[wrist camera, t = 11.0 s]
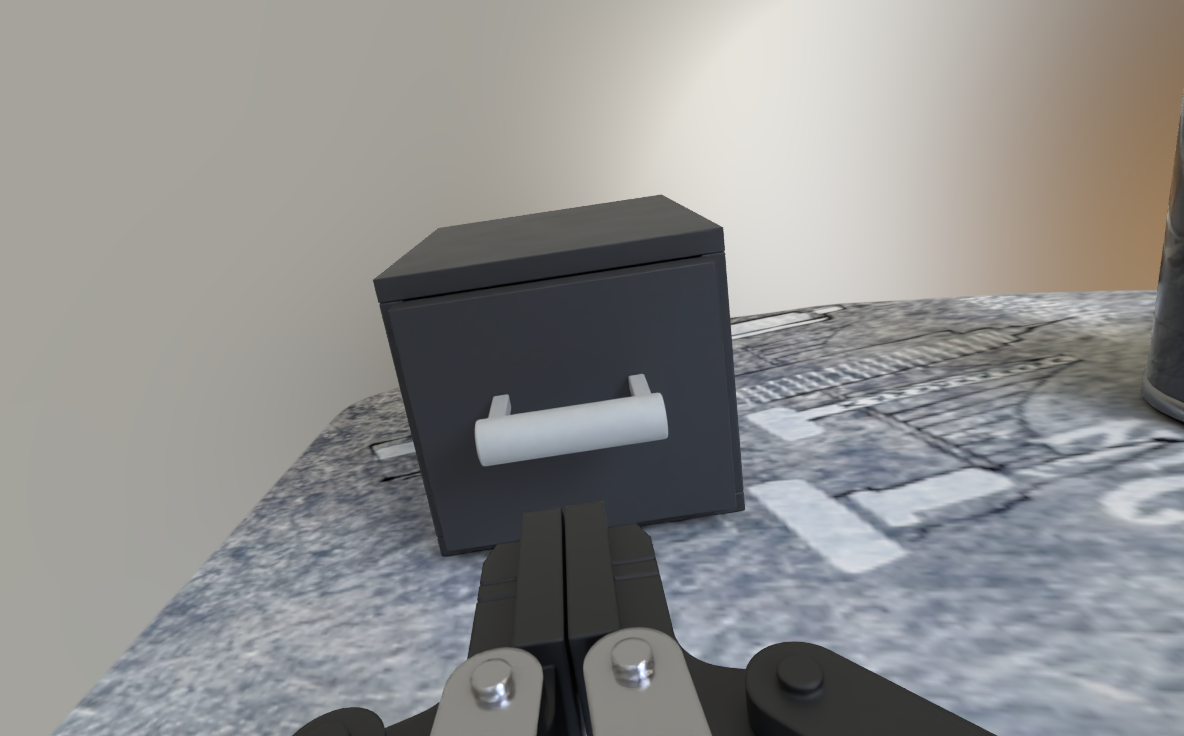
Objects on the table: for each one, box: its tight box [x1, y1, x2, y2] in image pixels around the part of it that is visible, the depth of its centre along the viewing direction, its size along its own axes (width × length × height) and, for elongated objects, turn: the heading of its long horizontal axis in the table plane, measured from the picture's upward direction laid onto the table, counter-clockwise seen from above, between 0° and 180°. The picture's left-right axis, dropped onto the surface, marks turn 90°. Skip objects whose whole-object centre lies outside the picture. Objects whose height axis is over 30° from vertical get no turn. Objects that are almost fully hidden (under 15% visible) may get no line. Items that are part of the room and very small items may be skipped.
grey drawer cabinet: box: [373, 195, 745, 556], centre depth 34 cm, size 15×13×12 cm
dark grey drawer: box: [388, 256, 736, 551], centre depth 30 cm, size 18×12×10 cm, turn 3°
